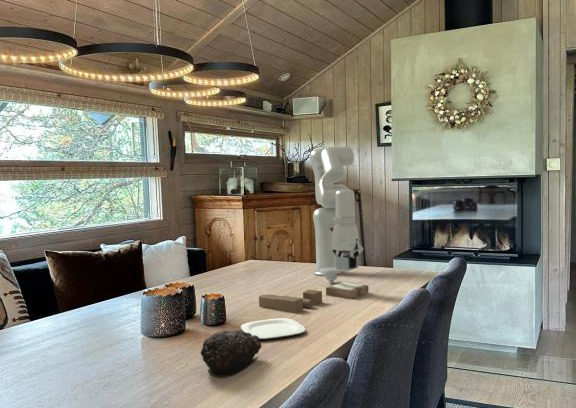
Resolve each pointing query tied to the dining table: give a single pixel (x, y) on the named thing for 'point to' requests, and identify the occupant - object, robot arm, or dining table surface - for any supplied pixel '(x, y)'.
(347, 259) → the housing
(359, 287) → the stand
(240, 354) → the pine cone
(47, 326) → the dining table surface
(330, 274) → the showerhead
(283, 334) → the plate
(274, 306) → the wooden block set
